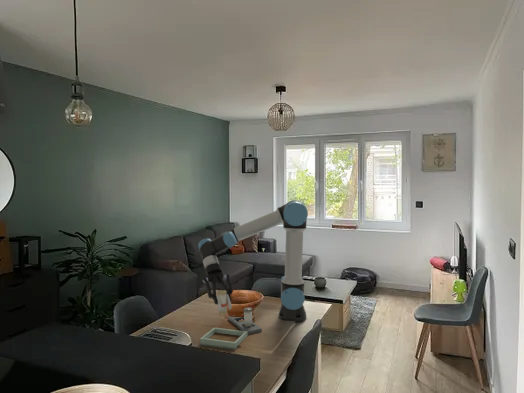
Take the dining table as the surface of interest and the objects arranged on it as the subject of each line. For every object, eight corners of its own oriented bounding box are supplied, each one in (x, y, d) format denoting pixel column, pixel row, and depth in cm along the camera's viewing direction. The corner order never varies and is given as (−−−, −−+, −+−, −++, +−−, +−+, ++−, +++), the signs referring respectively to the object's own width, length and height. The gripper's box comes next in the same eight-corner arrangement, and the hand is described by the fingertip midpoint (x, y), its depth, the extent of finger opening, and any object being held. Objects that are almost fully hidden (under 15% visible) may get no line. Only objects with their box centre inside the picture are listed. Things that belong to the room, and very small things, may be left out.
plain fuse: (253, 327, 198) (253, 307, 197) (250, 330, 194) (250, 310, 193) (245, 326, 199) (245, 307, 199) (242, 329, 195) (242, 309, 195)
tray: (247, 337, 187) (247, 331, 187) (235, 349, 174) (235, 343, 174) (214, 333, 194) (214, 327, 194) (200, 344, 181) (200, 338, 181)
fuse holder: (228, 321, 210) (228, 316, 210) (241, 318, 214) (241, 314, 214) (247, 336, 189) (246, 331, 189) (261, 333, 192) (261, 328, 192)
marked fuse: (228, 311, 185) (228, 290, 184) (224, 314, 181) (224, 293, 180) (220, 310, 186) (220, 289, 186) (216, 313, 182) (215, 292, 182)
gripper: (226, 268, 200) (240, 309, 186) (193, 273, 193) (205, 316, 179) (230, 260, 195) (244, 301, 182) (196, 264, 188) (209, 308, 174)
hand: (225, 308), depth 180 cm, fingers closed on marked fuse, 4 cm apart
